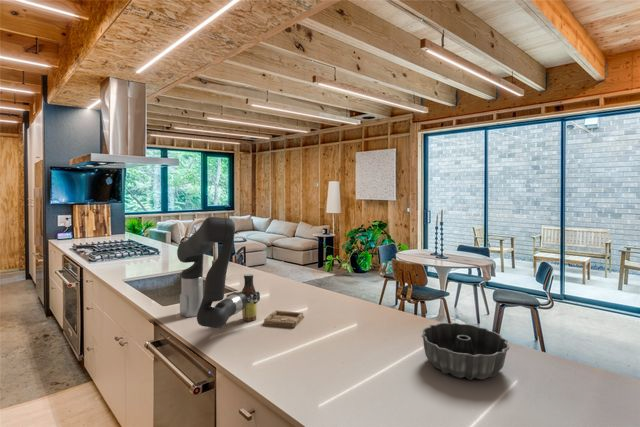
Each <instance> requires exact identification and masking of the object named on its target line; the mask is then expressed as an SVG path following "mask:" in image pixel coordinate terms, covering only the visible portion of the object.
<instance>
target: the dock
mask: <svg viewBox="0 0 640 427" xmlns="http://www.w3.org/2000/svg"><path fill="white" fill-rule="evenodd" d="M304 318H305V315H304V312H296V311H287V310H275V311H272V312H271V313H270V314H269V315H268V316H266V317H265V318H264V319H263V324H262V325H263V326H269V327H270V326H271V327H279V328H287V329H290V328H291V329H295V328H296V327H297V326H298V325H299V324H300V323H301V322H302V320H304Z"/></svg>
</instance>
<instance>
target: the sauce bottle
mask: <svg viewBox="0 0 640 427" xmlns="http://www.w3.org/2000/svg"><path fill="white" fill-rule="evenodd" d="M243 279H244V285H243V288H242V290H241V291H242V294H250V293H251V294H254V293H256V292H257V291H256V289H255V285H254V274H253V273H246V274H244V275H243ZM249 297H250V296H249ZM253 297H254V296H253ZM257 305H258V304H257V303H256V304H254V302H250V303H247V305H246V306H245V308H244V309H242V310H241V311H242V312H241V313H242V320H244V321H245V322H252V321H255V320H257V311H258V310H257Z"/></svg>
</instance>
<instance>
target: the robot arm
mask: <svg viewBox="0 0 640 427" xmlns="http://www.w3.org/2000/svg"><path fill="white" fill-rule="evenodd" d="M235 231H236V226H235V222H234V219H232V218H230V217H229V218H228V217H219V216H208V217H207V218H204V220H203V222H202V224H200V226H199V228H198V229H197V230H196V231H194V233H193V234H191V236H189V237H188V238H187V239H186V240H185V241H182V242H181V243H179V245H178V247H177V250H176V255H177V256H176V257H177V259H178V260H179V261H180V262H181V263H193V264H192V265H191V266H189V267H187V268H185V269H183V270H181V274H180V275H181V277H180V278H181V280H180V281H181V285H180V286H181V293H179V315H180V316H183V317H185V318H191V317H196V321H197V324H198V325H199V326H201V327H205V328H212V329H221V328H223V327H224V326H226V324H227V322H228V320H229V319H230V318H231V317H232V316H234V315H237V314H238V313H239V312H241V311H242V309H244V308H245V306H246V305H247V303H250V302H254V304H256V305H257V304H258V302H260V300H261V294H260V293H261V292H260V291H256V293H254V294H251V293H250V294H242V290H241V291H236V292H235V291H234V292H231V293H228V294H227V295H226V297H225V291H226V289H225V288H226V278H227V277H226V276H227V272H228V266H229V262H230V258H231V253H232V249H233V244H234V240H235V234H236V232H235ZM216 243H218V244H219V243H220V244H222V247H221V250H220V252H219V254H218V256H217V258H216V260H215V261H214V263H213V264H212V265H211V267H210V268H209V269H208V271H207V273H206V277H205V279H204V280H203V278H204V277H203V273H204V255H205V254H207V253H208V252H210V251H211V250H212V248H214V246H215V244H216ZM203 281H205V282H203ZM203 284H204V285H203ZM203 286H204V288H203ZM249 296H250V297H249ZM253 296H254V297H253ZM224 297H225V298H224ZM215 302H217V303H216V304H215V306H212V305H213V303H215Z"/></svg>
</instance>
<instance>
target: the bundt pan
mask: <svg viewBox="0 0 640 427" xmlns="http://www.w3.org/2000/svg"><path fill="white" fill-rule="evenodd" d="M421 337H422V340H423V348H424V354H425V356H426V358H427V360H428V361H429V362H430V363H431V364H432V366H433V367H435V368H437V369H438V370H441V372H442V373H443V374H446V375H448V373H449V374H451V375H452V376H453V377H455V378H464V377H465V378H466V379H467V380H469V381H471V380H473V379H476V380H477V379H478V380H484V379H487V378H493V377H496V376H497V375H498V374H499V372H500V371H501V370H502V369H503V367H504V364H505V360H506V358H507V357H506V356H507V352H508V351H509V350H510V344H509V343H508V341H509V340H508V339H505V338H503V336H502V335H501V334H500V333H497V332H495V331H492V330H489V329H488V328H485V327H479V326H476V325H473V324H467V323H459V322H458V323H457V322H452V323H450V322H449V323H448V322H440V323H436V324H430V325H428V327H425V328H423V329H422V334H421Z"/></svg>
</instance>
